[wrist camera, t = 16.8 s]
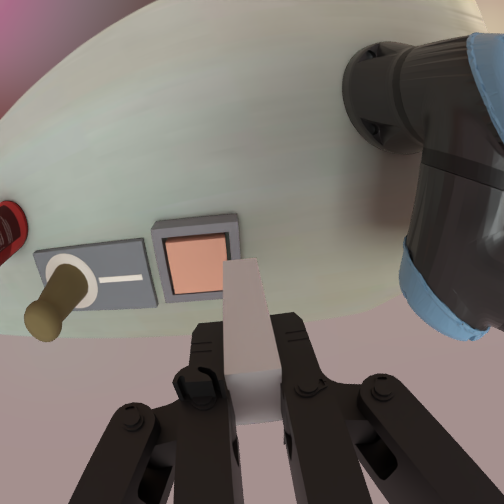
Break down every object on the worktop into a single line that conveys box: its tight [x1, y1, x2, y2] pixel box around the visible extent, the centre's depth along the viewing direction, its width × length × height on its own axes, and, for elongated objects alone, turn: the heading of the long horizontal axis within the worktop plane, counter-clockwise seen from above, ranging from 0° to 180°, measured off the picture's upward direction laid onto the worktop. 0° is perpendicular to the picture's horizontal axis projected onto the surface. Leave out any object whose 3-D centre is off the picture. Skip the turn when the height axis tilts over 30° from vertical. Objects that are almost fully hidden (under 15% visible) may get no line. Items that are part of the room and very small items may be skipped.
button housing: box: [151, 214, 241, 303], centre depth 36 cm, size 10×10×3 cm
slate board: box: [33, 238, 158, 311], centre depth 36 cm, size 18×10×1 cm, turn 93°
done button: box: [166, 232, 227, 294], centre depth 35 cm, size 7×7×3 cm
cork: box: [24, 264, 88, 342], centre depth 30 cm, size 6×6×11 cm
